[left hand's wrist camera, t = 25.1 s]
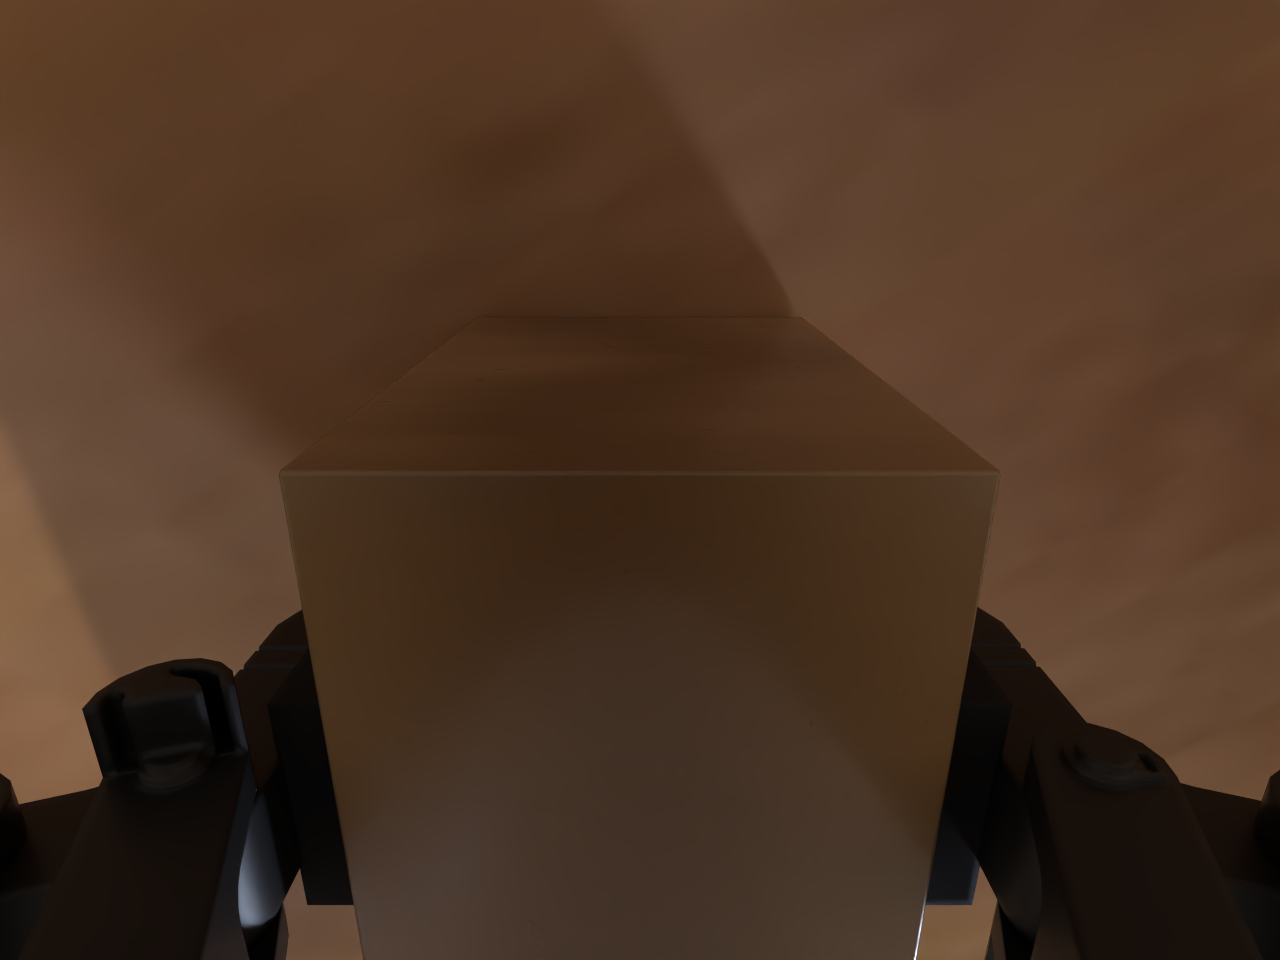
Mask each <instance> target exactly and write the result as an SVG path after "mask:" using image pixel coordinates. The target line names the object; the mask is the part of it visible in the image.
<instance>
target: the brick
mask: <svg viewBox="0 0 1280 960" xmlns="http://www.w3.org/2000/svg"><path fill="white" fill-rule="evenodd" d="M279 478H280V483H281V489H282V495H283V501H284V506H285V512H286V518H287V524H288V529H289V535H290V541H291V547H292V552H293V558H294V564H295V570H296V575H297V581H298V587H299V592H300V598H301V604H302V610H303V615H304V621H305V627H306V633H307V638H308V644H309V650H310V656H311V661H312V667H313V673H314V679H315V684H316V690H317V696H318V702H319V707H320V713H321V719H322V725H323V730H324V736H325V742H326V748H327V753H328V759H329V765H330V771H331V776H332V782H333V788H334V794H335V799H336V805H337V811H338V817H339V822H340V828H341V834H342V839H343V845H344V851H345V857H346V862H347V868H348V874H349V880H350V885H351V891H352V897H353V903H354V908H355V914H356V920H357V926H358V931H359V937H360V943H361V949H362V954H363V960H916V956H917V950H918V944H919V939H920V933H921V927H922V922H923V916H924V910H925V904H926V899H927V893H928V887H929V881H930V876H931V870H932V864H933V858H934V853H935V847H936V841H937V836H938V830H939V824H940V818H941V813H942V807H943V801H944V795H945V790H946V784H947V778H948V773H949V767H950V761H951V755H952V750H953V744H954V738H955V732H956V727H957V721H958V715H959V709H960V704H961V698H962V692H963V687H964V681H965V675H966V669H967V664H968V658H969V652H970V646H971V641H972V635H973V629H974V623H975V618H976V612H977V606H978V601H979V595H980V589H981V583H982V578H983V572H984V566H985V560H986V555H987V549H988V543H989V538H990V532H991V526H992V520H993V515H994V509H995V503H996V497H997V492H998V486H999V480H1000V472H999V470H998V469H997V468H995V467H994V466H993V465H991V464H990V463H989V462H988V461H986V460H985V459H984V458H982V457H981V456H980V455H979V454H977V453H976V452H975V451H973V450H972V449H971V448H970V447H968V446H967V445H966V444H964V443H963V442H962V441H960V440H959V439H958V438H957V437H955V436H954V435H953V434H951V433H950V432H949V431H948V430H946V429H945V428H944V427H942V426H941V425H940V424H939V423H937V422H936V421H935V420H933V419H932V418H931V417H930V416H928V415H927V414H926V413H924V412H923V411H922V410H920V409H919V408H918V407H917V406H915V405H914V404H913V403H911V402H910V401H909V400H908V399H906V398H905V397H904V396H902V395H901V394H900V393H899V392H897V391H896V390H895V389H893V388H892V387H891V386H890V385H888V384H887V383H886V382H884V381H883V380H882V379H881V378H879V377H878V376H877V375H875V374H874V373H873V372H871V371H870V370H869V369H868V368H866V367H865V366H864V365H862V364H861V363H860V362H859V361H857V360H856V359H855V358H853V357H852V356H851V355H850V354H848V353H847V352H846V351H844V350H843V349H842V348H841V347H839V346H838V345H837V344H835V343H834V342H833V341H831V340H830V339H829V338H828V337H826V336H825V335H824V334H822V333H821V332H820V331H819V330H817V329H816V328H815V327H813V326H812V325H811V324H810V323H808V322H807V321H806V320H804V319H803V318H801V317H478V318H476V319H475V320H473V321H472V322H471V323H469V324H468V325H467V326H466V327H464V328H463V329H462V330H460V331H459V332H458V333H457V334H455V335H454V336H453V337H451V338H450V339H449V340H448V341H446V342H445V343H444V344H442V345H441V346H440V347H439V348H437V349H436V350H435V351H433V352H432V353H431V354H430V355H428V356H427V357H426V358H424V359H423V360H422V361H421V362H419V363H418V364H417V365H415V366H414V367H413V368H412V369H410V370H409V371H408V372H406V373H405V374H404V375H403V376H401V377H400V378H399V379H397V380H396V381H395V382H394V383H392V384H391V385H390V386H388V387H387V388H386V389H385V390H383V391H382V392H381V393H379V394H378V395H377V396H376V397H374V398H373V399H372V400H370V401H369V402H368V403H367V404H365V405H364V406H363V407H361V408H360V409H359V410H357V411H356V412H355V413H354V414H352V415H351V416H350V417H348V418H347V419H346V420H345V421H343V422H342V423H341V424H339V425H338V426H337V427H336V428H334V429H333V430H332V431H330V432H329V433H328V434H327V435H325V436H324V437H323V438H321V439H320V440H319V441H318V442H316V443H315V444H314V445H312V446H311V447H310V448H309V449H307V450H306V451H305V452H303V453H302V454H301V455H300V456H298V457H297V458H296V459H294V460H293V461H292V462H291V463H289V464H288V465H287V466H285V467H284V468H283V469H282V470H280V474H279Z"/></svg>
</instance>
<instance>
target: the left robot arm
mask: <svg viewBox="0 0 1280 960" xmlns="http://www.w3.org/2000/svg"><path fill="white" fill-rule="evenodd" d="M82 710H83V713H84V717H85V720H86V723H87V727H88V730H89V733H90V736H91V740H92V743H93V746H94V750H95V753H96V756H97V759H98V763H99V766H100V769H101V773H102V776H103V779H102V781H101V783H100V785H99V787H96V788H92V789H88V790H84V791H80V792H75V793H70V794H66V795H61V796H56V797H52V798H47V799H42V800H38V801H33V802H28V803H23V804H19V803H18V801H17V798H16V795H15V792H14V789H13V787H12V784H11V781H10V780H9V779H7V778H6V777H5V776H3V775H2V774H1V773H0V960H286V953H287V945H288V936H289V934H288V927H287V919H286V914H285V910H284V905H283V901H284V899H285V897H286V895H287V893H288V891H289V889H290V887H291V885H292V883H293V881H294V879H295V877H296V875H297V873H298V871H299V869H300V871H301V875H302V880H303V885H304V890H305V895H306V900H307V905H354V903H353V897H352V891H351V885H350V880H349V874H348V868H347V862H346V857H345V851H344V845H343V839H342V834H341V828H340V822H339V817H338V811H337V805H336V799H335V794H334V788H333V782H332V776H331V771H330V765H329V759H328V753H327V748H326V742H325V736H324V730H323V725H322V719H321V713H320V707H319V702H318V696H317V690H316V684H315V679H314V673H313V667H312V661H311V656H310V650H309V644H308V638H307V633H306V627H305V621H304V615H303V610H301V611H299V612H297V613H296V614H294V615H293V616H291V617H289V618H288V619H286V620H285V621H283V622H281V623H280V624H278V625H277V626H276V627H275V629H274V630H273V631H272V632H271V633H270V635H269V636H268V637H267V638H266V639H265V641H264V642H263V643H262V644H261V645H260V647H259V651H255V653H254V654H253V655H252V656H251V657H250V659H249V660H248V661H247V662H246V663H245V665H244V670H240V671H239V672H238V673H237V674H236V675H235V676H234V675H233V671H232V670H231V669H229V668H228V667H227V666H226V665H224V664H223V663H222V662H218V661H213V660H208V659H203V658H196V659H179V660H172V661H168V662H164V663H160V664H156V665H151V666H147V667H145V668H142V669H140V670H138V671H135V672H133V673H130V674H128V675H125V676H123V677H121V678H119V679H117V680H116V681H114V682H112V683H111V684H109V685H108V686H106V687H105V688H103V689H102V690H100V691H98V692H97V693H96V694H95V695H94V696H93V697H92V698H91V700H90V701H89V702H88V703H87V704H86V705H85V706H84V707H83V708H82ZM980 866H981V868H982V870H983V872H984V874H985V876H986V878H987V880H988V882H989V884H990V886H991V888H992V890H993V892H994V894H995V896H996V898H997V905H996V910H995V914H994V919H993V923H992V928H991V933H990V937H989V942H988V946H987V951H986V956H985V960H1280V770H1279V771H1278V772H1276V773H1275V774H1274V775H1272V776H1271V777H1270V779H1269V782H1268V784H1267V787H1266V790H1265V793H1264V796H1263V798H1262V801H1259V800H1254V799H1250V798H1245V797H1240V796H1235V795H1231V794H1226V793H1221V792H1216V791H1212V790H1207V789H1202V788H1198V787H1193V786H1190V785H1186V784H1182V783H1180V782H1179V780H1178V778H1177V776H1176V775H1175V773H1174V772H1173V771H1172V769H1171V768H1170V767H1169V765H1168V764H1167V763H1166V762H1165V760H1164V759H1163V758H1161V757H1160V756H1159V755H1157V754H1156V753H1155V752H1153V751H1152V750H1151V749H1149V748H1148V747H1147V746H1145V745H1144V744H1143V743H1141V742H1139V741H1137V740H1135V739H1132V738H1130V737H1128V736H1126V735H1124V734H1122V733H1120V732H1118V731H1116V730H1112V729H1108V728H1105V727H1101V726H1097V725H1094V724H1090V723H1087V722H1086V721H1085V720H1084V719H1083V718H1082V717H1081V715H1080V714H1079V713H1078V712H1077V711H1076V709H1075V708H1074V707H1073V706H1072V705H1071V703H1070V702H1069V701H1068V700H1067V699H1066V697H1065V696H1064V695H1063V694H1062V693H1061V692H1060V690H1059V689H1058V688H1057V687H1056V686H1055V684H1054V683H1053V682H1052V681H1051V680H1050V678H1049V677H1048V676H1047V675H1046V674H1045V673H1044V671H1043V670H1042V669H1041V668H1040V667H1036V662H1035V661H1034V659H1033V658H1032V657H1031V656H1030V655H1029V653H1028V652H1027V651H1026V650H1025V649H1024V648H1021V644H1020V643H1019V642H1018V640H1017V639H1016V638H1015V637H1014V636H1013V634H1012V633H1011V632H1010V631H1009V630H1008V628H1007V627H1006V626H1005V625H1004V624H1003V623H1002V622H1001V621H999V620H998V619H996V618H994V617H993V616H991V615H990V614H988V613H986V612H985V611H983V610H982V609H980V608H978V607H977V612H976V618H975V623H974V629H973V635H972V641H971V646H970V652H969V658H968V664H967V669H966V675H965V681H964V687H963V692H962V698H961V704H960V709H959V715H958V721H957V727H956V732H955V738H954V744H953V750H952V755H951V761H950V767H949V773H948V778H947V784H946V790H945V795H944V801H943V807H942V813H941V818H940V824H939V830H938V836H937V841H936V847H935V853H934V858H933V864H932V870H931V876H930V881H929V887H928V893H927V899H926V904H925V905H972V902H973V897H974V892H975V887H976V882H977V877H978V873H979V868H980Z"/></svg>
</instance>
